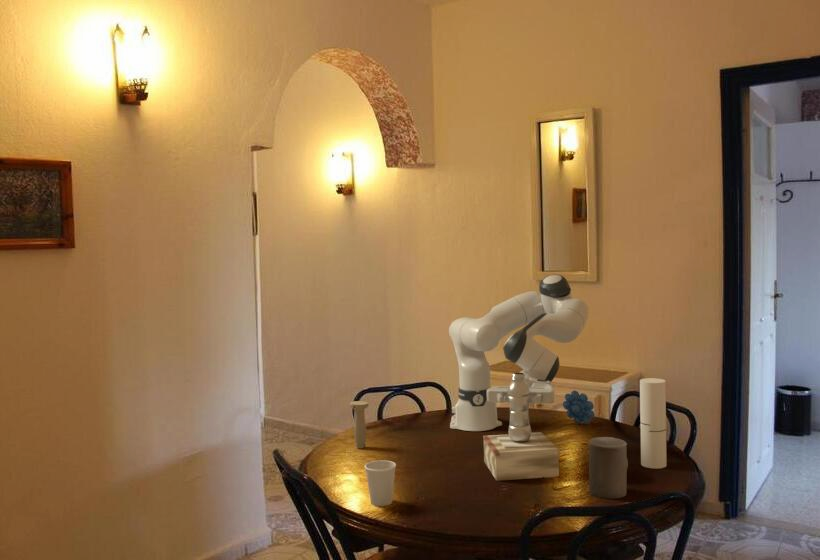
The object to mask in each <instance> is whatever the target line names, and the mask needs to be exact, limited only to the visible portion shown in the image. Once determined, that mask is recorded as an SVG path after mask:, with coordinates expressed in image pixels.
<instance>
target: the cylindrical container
mask: <svg viewBox="0 0 820 560" xmlns="http://www.w3.org/2000/svg"><path fill="white" fill-rule="evenodd" d="M666 393H667V391H666V380H665V379H663V378H655V377H651V378H650V377H647V378H641V379H639V413H640V414H639V417H640V420H639V422H640V465H641V466H642V467H644V468H649V469H654V470H655V469H663V468H666V467H667V411H666V410H667V408H666V407H667V406H666V405H667V404H666V403H667V402H666V400H667V399H666Z"/></svg>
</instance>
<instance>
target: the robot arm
mask: <svg viewBox="0 0 820 560" xmlns="http://www.w3.org/2000/svg"><path fill="white" fill-rule="evenodd" d="M538 290H539V291H538V292H537V291H534V290H531V291H527V292H526V291H525V292H522V293H519V294H517V295H514V296H512V297H511V298H508V299H507V300H505V301H503V302H500V303H498V304H497V305H495V306H493V307H492V308H491V309H490V311H489V312H488V313H487V314H486V315H484V316H482V317H479V318H472V317H466V316H465V317H464V316H463V317H460V318H456V319H455V320H453V321H452V322H451V324H450V325H449V327H448V335H449V338H450V340H451V341H452V344H453V347H454V351H455V355H456V360H457V364H458V375H459V376H458V378H459V379H458V380H459V387H458V391H457V393H458V400H457V402H456V404H455V406H452V407H451V413H452V414H453V415H452V416H451V419H450V423H449V428H450V429H454V430H455V429H456V430H461V431H464V432H465V431H468V432H483V431H485V432H486V431H490V430H493V429H495V428H497V427H500V426H503V422H502V421H501V420H498V411H497V409H498V408H497V403H499V404H505V403H509V400H508V395H507V390H508V387H509V386H510V384H511V383H512V381H513V380H512V379H511V381H510V383H509V385H493V386H491V370H490V369H491V366H490V364H489V361H488V360H487V358H486V355H485V352H490V351H493V350H495V348H496V347H497V346H498V345H499V344H500V341H501V340H502V339H504V338H505V337H506V336H508V335H509V334H511V333H512V332H514V331H516V330H517V331H516V332H515V333H513V334H511V335H510V336H509V337H508V338H507V340H506V341H505V343H504V344H503V347H502V350H503V354H504V357H505V359H506V360H508V361H510V362H511V363H514V364H515V365H517V366H518V367H519V368H521V369H522V370H520V372H521V373H525V380H524V382H525V383H526V385H527V386H528V388H529V390H530V396H529V405H533V404H535V405H536V404H555V388H554V386H553V385H552V381H553V380H554V379H555V377H556V375H557V373H558V371H559V368H560V359H559V358H560V357H559V356H558V355H556V354H555V353H554V352H552V351H551V350H550V349H548V348H546V347H545V346H544V345H542V344H541V343H539V342H538V341H536V340H535V339H533V338H534V337H535V336H537V335H538V336H541V337H545V338H547V339H549V340H552V341H554V342H556V343H561V344H567V343H571V342H573V341H575V340H576V339H577V338H578V337H579V335H580V334H582V331H583V329H584V328H585V326H586V324H587V321H588V317H589V314H590V313H589V312H590V311H589V307H588V305H587V304H586V303H585V301H583V300H582V299H580V298H577V297H576V298H575V297H573V294H572V292H571V291H572V289H571V286H570V284H569V282H568V280H567V279H566V277H565V276H563V275H561V274H550V275H547V276H545V277H543V278H542V279H541V280H540V281H539V289H538ZM520 328H521V329H520Z"/></svg>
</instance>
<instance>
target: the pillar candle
mask: <svg viewBox="0 0 820 560" xmlns="http://www.w3.org/2000/svg"><path fill="white" fill-rule="evenodd" d="M588 442H589V444H588V450H589V452H588V459H589V460H588V461H589V462H588V466H589V467H588V468H589V469H588V471H589V472H588V473H589V474H588V475H589V476H588V481H589V494H591V495H592V496H594V497H597V498H600V499H601V498H602V499H613V500H614V499H621V498H624V497H625V496H627V487H628V486H627V485H628V484H627V483H628V482H627V477H628V475H627V472H628V471H627V470H628V467H627V459H628V457H627V444H628V443H627V441H625V440H623V439H620V438H617V437H612V436H611V437H608V436H602V437H601V436H599V437H593V438H591V439H590V440H589V441H588Z"/></svg>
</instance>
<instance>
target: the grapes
mask: <svg viewBox="0 0 820 560" xmlns="http://www.w3.org/2000/svg"><path fill="white" fill-rule="evenodd" d="M564 399H565V401H563V402H562V406H563V408H564V410H567V411H566V416H567V417H568V418H569V419H573V421H574V422H575V424H577V423H578V424H577V425H580V423H581V424H582V423H583V424H585V425H588V424H590V423H591V419H594V418H595V416H596V415H595V412H594V410H593V409H594V408H595V406H594V403H593V402H592V401H590V400H589V397H588V395H587V394H586V393H583V392H582V393H579V392H578V391H577V390H572V391H571V393H565V395H564Z"/></svg>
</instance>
